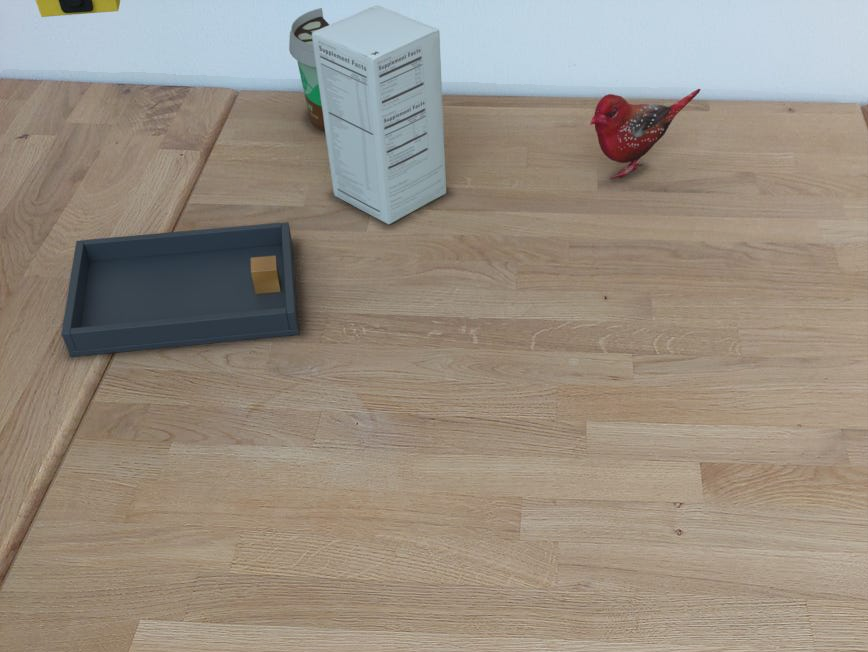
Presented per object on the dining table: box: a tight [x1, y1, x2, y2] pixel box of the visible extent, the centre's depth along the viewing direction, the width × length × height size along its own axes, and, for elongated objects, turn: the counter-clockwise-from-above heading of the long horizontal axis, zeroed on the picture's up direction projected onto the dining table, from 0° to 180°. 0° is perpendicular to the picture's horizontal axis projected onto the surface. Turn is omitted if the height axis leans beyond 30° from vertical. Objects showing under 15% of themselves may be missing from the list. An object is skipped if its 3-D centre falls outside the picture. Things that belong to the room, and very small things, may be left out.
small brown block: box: [251, 256, 281, 294], centre depth 96 cm, size 2×2×2 cm
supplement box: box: [312, 4, 447, 225], centre depth 101 cm, size 10×9×17 cm
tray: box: [60, 221, 300, 358], centre depth 96 cm, size 22×16×3 cm
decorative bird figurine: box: [589, 88, 701, 180], centre depth 107 cm, size 3×18×10 cm, turn 130°
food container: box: [288, 7, 330, 133], centre depth 114 cm, size 12×6×10 cm, turn 27°
